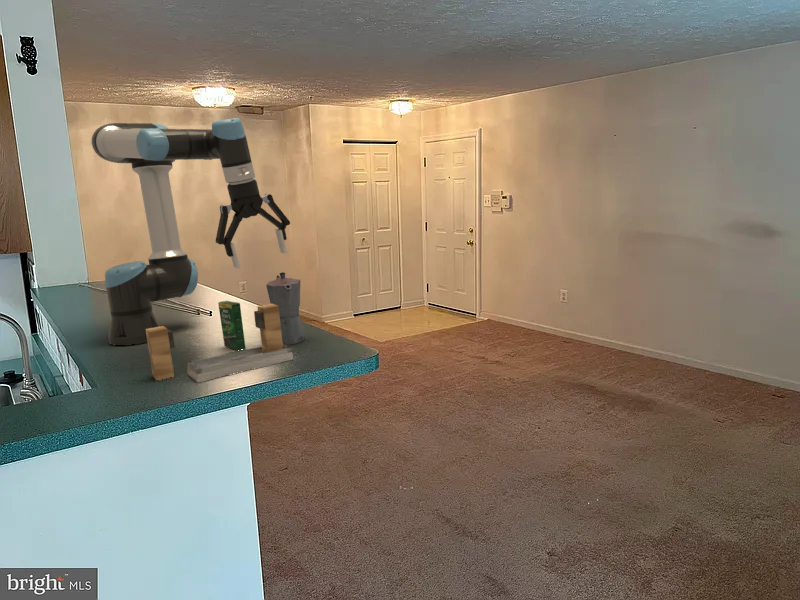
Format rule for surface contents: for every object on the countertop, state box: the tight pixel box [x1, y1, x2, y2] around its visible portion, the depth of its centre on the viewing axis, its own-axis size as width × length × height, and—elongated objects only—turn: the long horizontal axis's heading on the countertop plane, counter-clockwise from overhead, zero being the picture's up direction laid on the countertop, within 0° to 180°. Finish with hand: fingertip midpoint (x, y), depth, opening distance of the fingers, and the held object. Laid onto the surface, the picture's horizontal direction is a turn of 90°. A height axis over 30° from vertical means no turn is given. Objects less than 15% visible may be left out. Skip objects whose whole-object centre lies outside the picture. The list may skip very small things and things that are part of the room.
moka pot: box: [266, 272, 306, 346], centre depth 164 cm, size 10×15×20 cm, turn 27°
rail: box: [185, 344, 294, 383], centre depth 144 cm, size 8×24×3 cm, turn 125°
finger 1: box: [146, 325, 176, 381], centre depth 140 cm, size 4×5×12 cm
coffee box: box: [217, 300, 247, 351], centre depth 161 cm, size 8×3×13 cm, turn 43°
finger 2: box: [253, 303, 283, 352], centre depth 147 cm, size 4×5×12 cm
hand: (260, 259), depth 157 cm, fingers open, 13 cm apart
